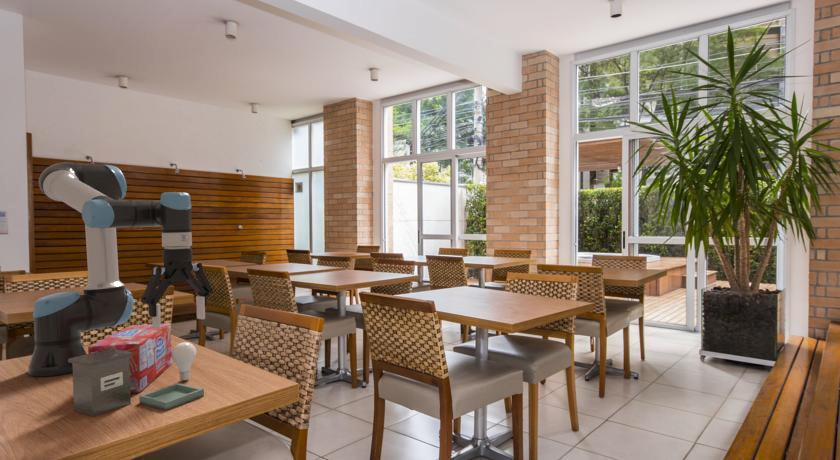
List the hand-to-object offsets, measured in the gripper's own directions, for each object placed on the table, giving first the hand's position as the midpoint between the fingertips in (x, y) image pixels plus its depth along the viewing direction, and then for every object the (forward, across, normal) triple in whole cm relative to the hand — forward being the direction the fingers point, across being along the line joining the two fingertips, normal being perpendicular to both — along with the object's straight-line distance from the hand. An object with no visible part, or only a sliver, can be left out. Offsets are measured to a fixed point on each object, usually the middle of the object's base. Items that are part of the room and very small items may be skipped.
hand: (179, 323), depth 140 cm
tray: (+17, -9, -10) cm, 21 cm away
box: (+17, -4, +16) cm, 24 cm away
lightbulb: (+17, +2, +1) cm, 17 cm away
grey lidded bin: (+17, -20, +1) cm, 27 cm away
